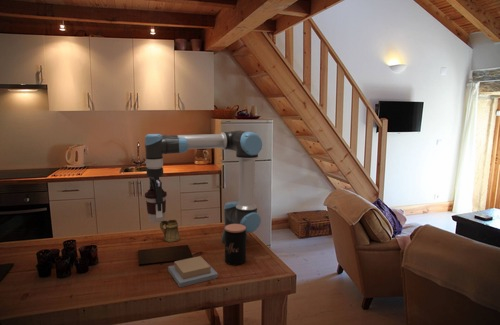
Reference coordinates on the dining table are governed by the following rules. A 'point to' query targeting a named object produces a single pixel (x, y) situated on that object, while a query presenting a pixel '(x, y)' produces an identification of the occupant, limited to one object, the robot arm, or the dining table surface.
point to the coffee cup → (151, 206)
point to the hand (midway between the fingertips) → (156, 214)
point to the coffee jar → (235, 244)
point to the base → (191, 280)
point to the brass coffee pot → (170, 230)
